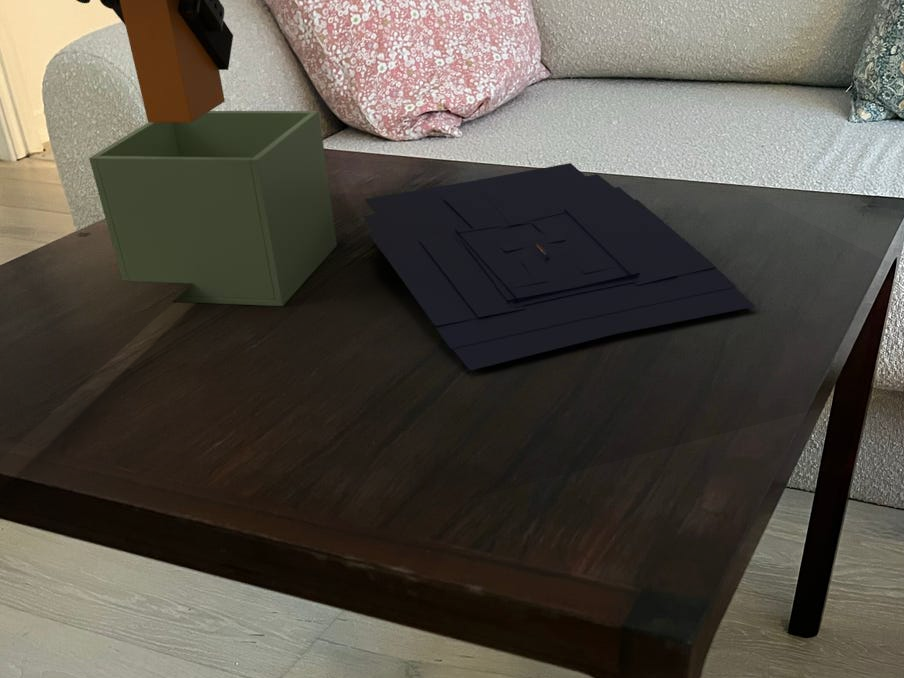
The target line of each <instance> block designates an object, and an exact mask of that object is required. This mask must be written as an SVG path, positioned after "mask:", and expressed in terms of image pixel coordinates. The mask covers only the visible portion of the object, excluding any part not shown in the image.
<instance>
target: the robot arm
mask: <svg viewBox="0 0 904 678" xmlns="http://www.w3.org/2000/svg"><path fill="white" fill-rule="evenodd" d="M76 1H77V2H78V3H81V4H89V3H90V2H91V0H76ZM99 1H100V3H101V5H102V6H104V7H105V8H108V9H110V10H113V12H114V13H115V14H116V15H117V17H118V18H119V19H120V20H121V23H123V24H124V25H125V21H124V17H123V13H122V8H121V4H120V0H99ZM178 12H179V13H180V15H181V16H182V18H183V19H184V21H185V22H186V23H187V25H188V26H189V28H190V29H191V31H192V32H193V33H194V35H195V36H196V38H197V39H198V41H199V42H200V43H201V45H202V46H203V48H204V49H205V51H206V52H207V53H208V55H209V56H210V58H211V59H212V61H213V62H214V63H215V65H216V66H217V68H218V69H219V71H228V70H229V67H230V61H231V53H232V48H233V40H234V34H233V32H232V31H231V29H230V27H228V25H227V23H226V22H225V20H224V19H225V6H224V5H223V4H222V2H221V1H220V0H179V6H178Z"/></svg>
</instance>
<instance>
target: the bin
mask: <svg viewBox="0 0 904 678" xmlns="http://www.w3.org/2000/svg"><path fill="white" fill-rule="evenodd" d="M322 134H323V133H322V126H321V119H320V111H318V110H211V111H209V112H207V113H206V114H204V115H203V116H201V117H199V118H198V119H196V120H195V121H193V122H192V123H173V122H148V121H147V123H145V124H143V125H141V126H139V127H138V128H137V129H135V130H133V131H132V132H130V133H128V134H127V135H124V136H123V137H121V138H120V139H118V140H117V141H115V142H113V143H112V144H110V145H108V146H107V147H104V148H103V149H101V150H100V151H98V152H97V153H95V154H93V155H91V156H90V157H89V158H88V159H89V164H90V167H91V170H92V175H93V178H94V181H95V185H96V189H97V192H98V196H99V200H100V203H101V208H102V210H103V214H104V218H105V222H106V225H107V229H108V232H109V237H110V240H111V243H112V244H111V245H112V247H113V251H114V254H115V258H116V262H117V265H118V269H119V272H120V276H121V280H122V281H123V282H142V283H143V282H144V283H145V282H146V283H170V284H171V283H173V284H174V283H175V284H190V285H189V286H188V287H187V288H186V289H185V290H184V291H183V292H182V293H181V294H180V295H179V296H177V297H176V298H175V299H174V300H173V301H172V302H173V303H193V304H194V303H195V304H198V303H199V304H216V305H217V304H221V305H240V306H241V305H243V306H246V305H247V306H264V307H265V306H267V307H284V306H285V305H286V303H287V302H288V301H289V300H290V299H291V298H292V296H294V295H295V293H296V292H297V291H298V290H299V289H300V288H301V286H303V284H305V282H306V281H307V280H308V279H309V277H311V275H312V274H313V273H314V272H315V271H316V270H317V268H319V266H321V264H322V263H323V262H324V261H325V260H326V259H327V257H328V256H329V255H330V254H331V253H332V252H333V251H334V250H335V248H337V246H338V242H337V241H338V240H337V235H336V228H335V227H336V226H335V219H334V214H333V213H334V212H333V206H332V199H331V197H332V196H331V191H330V184H329V176H328V169H327V161H326V154H325V147H324V141H323V135H322Z"/></svg>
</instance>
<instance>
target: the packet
mask: <svg viewBox="0 0 904 678" xmlns="http://www.w3.org/2000/svg"><path fill="white" fill-rule="evenodd" d="M120 4H121V8H122V13H123V17H124V21H125V24H124V26H125V29H126V30H125V31H126V34H127V38H128V43H129V47H130V51H131V55H132V59H133V64H134V69H135V72H136V76H137V81H138V86H139V90H140V93H141V94H140V95H141V98H142V103H143V107H144V111H145V115H146V120H147V123H148V122H173V123H192V122H193V121H195V120H196V119H198V118H199V117H201V116H203V115H204V114H206V113H207V112H209V111H213V110H215V108H217V107H219V106H220V105H222V104H223V103H225V102H226V100H225V95H224V94H225V93H224V90H223V84H222V79H221V74H220V70H219V69H218V68H217V66H216V65H215V63H214V62H213V61H212V59H211V58H210V56H209V55H208V53H207V52H206V51H205V49H204V48H203V46H202V45H201V43H200V42H199V41H198V39H197V38H196V36H195V35H194V33H193V32H192V31H191V29H190V28H189V26H188V25H187V23H186V22H185V21H184V19H183V18H182V16H181V15H180V13H179V12H178V6H179V0H120Z"/></svg>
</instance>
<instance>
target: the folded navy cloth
mask: <svg viewBox="0 0 904 678" xmlns="http://www.w3.org/2000/svg"><path fill="white" fill-rule="evenodd" d="M364 200H365V203H367V205H368V206H369V207H370V209H371V211H372V212H373V214H368V215H362V218H363V219H364V221H365V222H366V224H367V225H368V227H369V228H370V229H371V231H372V232H368V234H369V236H370V237H371V238H372V240H373V242H374V243H375V245H376V246H377V248H378V249H379V251H380V253H382V254H383V256H384V257H385V258H386V260H387V262H389V264H390V265H391V267H392V268H393V270H394V271H395V273H397V275H398V276H399V278H400V279H401V281H402V282H403V283H404V285H405V286H406V287H407V289H408V290H409V291H410V293H411V295H412V296H413V297H414V298H415V300H416V301H417V303H418V304H419V305H420V307H421V308H422V310H423V311H424V312H425V314H426V315H427V316H428V318H429V320H430V321H431V322H432V325H433V326H434V328H435V329H436V331H437V332H438V333H439V335H440V336H441V338H442V339H443V340H444V342H445V343H446V345H447V346H448V348H449V349H450V350H451V349H452V351H453V352H454V353H455V354H456V355H457V356H458V358H459V359H460V361H462V362H463V364H464V365H465V367H466V368H467V369H468V370H469V371H474V370H478V369H482V368H486V367H490V366H494V365H497V364H502V363H506V362H509V361H514V360H518V359H522V358H526V357H530V356H533V355H534V356H535V355H537V354H542V353H546V352H549V351H554V350H557V349H562V348H566V347H570V346H574V345H578V344H582V343H585V342H589V341H593V340H598V339H600V338H605V337H609V336H613V335H617V334H623V333H628V332H633V331H638V330H643V329H649V328H653V327H654V328H655V327H658V326H663V325H669V324H674V323H679V322H684V321H689V320H694V319H695V320H696V319H700V318H704V317H709V316H714V315H720V314H724V313H725V314H726V313H730V312H735V311H740V310H745V309H751V308H755V307H756V305H754V303H752V301H750V300H749V298H747V297H746V296H745V295H744V294H743V293H742V292H741V291H740V290H739V289H737V288H738V287H737V285H736V284H735V283H734V282H732V281H731V280H730V279H729V278H728V276H726V275H725V274H724V273H723V272H722V271H721V270H719V269H718V267H717V266H716V265H715V264H714V263H713V262H712V261H710V260H709V259H708V258H707V257H705V255H704V254H702V253H701V252H700V251H699V250H698V249H696V248H695V247H694V246H693V245H691V244H690V243H689V242H688V241H687V240H686V239H685V238H683V237H682V236H681V235H680V234H679V233H677V232H676V231H675V230H674V229H673V228H671V226H669V225H668V224H667V223H666V222H664V221H663V220H662V219H661V218H660V217H658V216H657V215H656V214H655V213H654V212H653V211H652V210H650V208H649V207H647V206H645V205H644V204H643V203H642V202H641V201H640V200H638V198H636V199H634V198H633V197H632V196H631V195H629V194H628V192H626V191H625V190H624V189H622V188H621V187H620V186H617V187H614V185H612V184H611V183H610V182H608V181H607V180H606V179H604V177H602V176H601V175H599V174H598V173H596V174H591V175H590V174H589V175H585V174H584V173H582V172H581V171H580V170H579V169H578V168H577V167H576V166H575V165H573V164H572V163H571V162H568V163H563V164H557V165H552V166H547V167H541V168H535V169H531V170H525V171H518V172H513V173H508V174H503V175H496V176H492V177H486V178H480V179H475V180H469V181H463V182H457V183H452V184H445V185H440V186H434V187H428V188H421V189H415V190H411V191H404V192H397V193H392V194H387V195H380V196H374V197H369V198H368V197H367V198H364ZM736 287H737V288H736Z"/></svg>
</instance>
